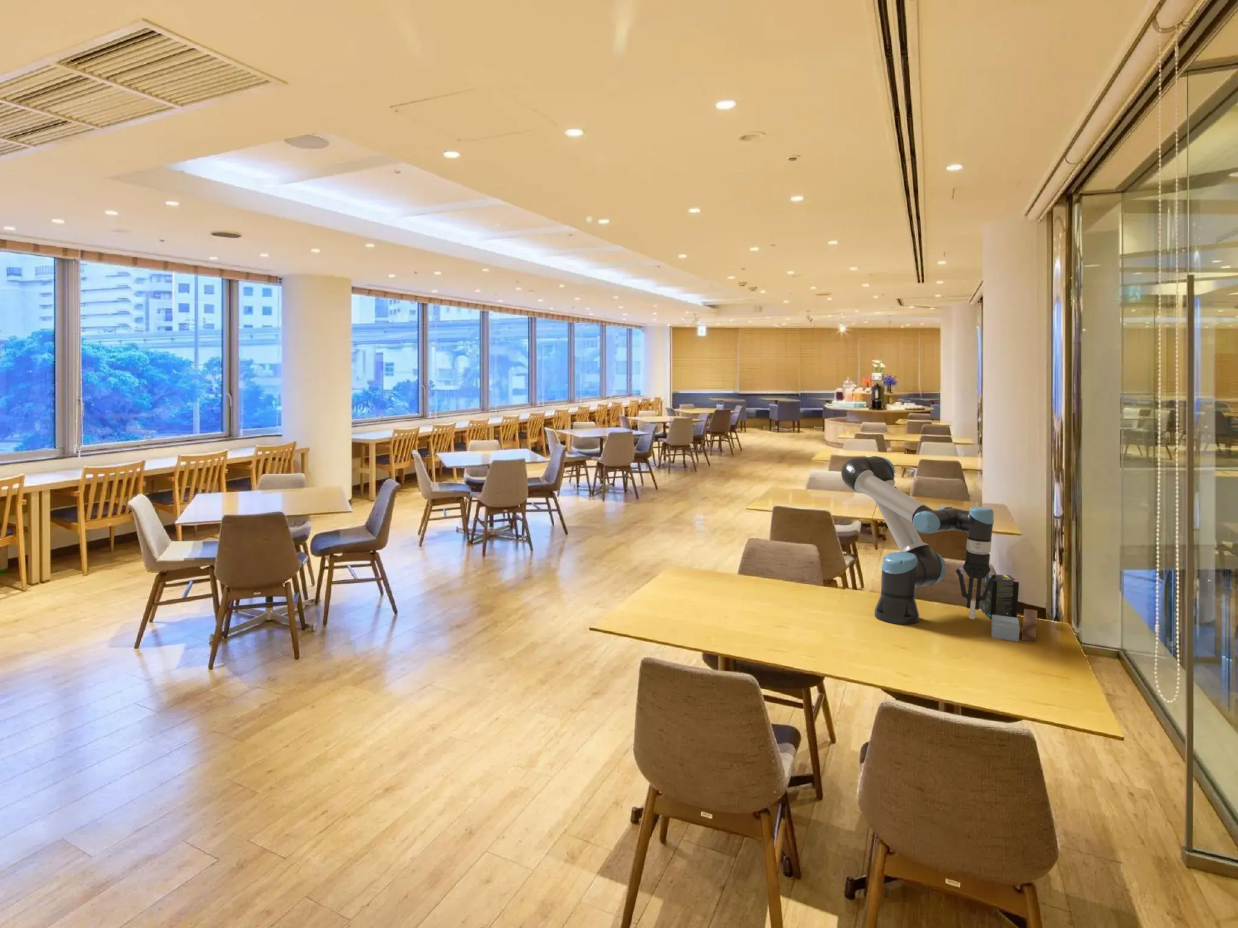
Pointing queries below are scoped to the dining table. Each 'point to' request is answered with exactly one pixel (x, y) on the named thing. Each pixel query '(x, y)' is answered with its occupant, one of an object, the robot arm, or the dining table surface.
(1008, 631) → the block
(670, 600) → the dining table surface
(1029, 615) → the walnut board
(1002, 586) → the tampon box
